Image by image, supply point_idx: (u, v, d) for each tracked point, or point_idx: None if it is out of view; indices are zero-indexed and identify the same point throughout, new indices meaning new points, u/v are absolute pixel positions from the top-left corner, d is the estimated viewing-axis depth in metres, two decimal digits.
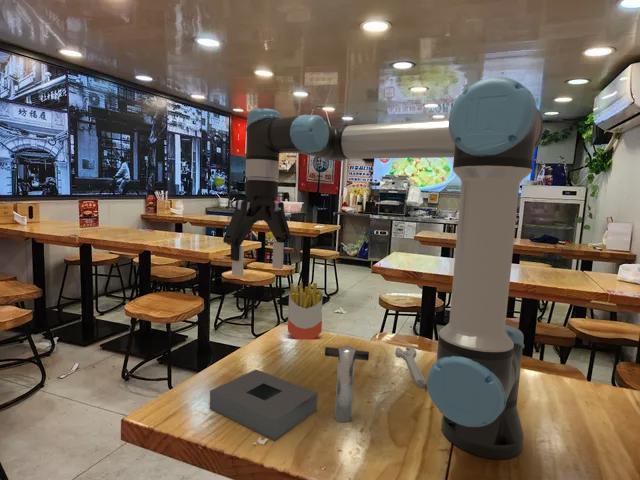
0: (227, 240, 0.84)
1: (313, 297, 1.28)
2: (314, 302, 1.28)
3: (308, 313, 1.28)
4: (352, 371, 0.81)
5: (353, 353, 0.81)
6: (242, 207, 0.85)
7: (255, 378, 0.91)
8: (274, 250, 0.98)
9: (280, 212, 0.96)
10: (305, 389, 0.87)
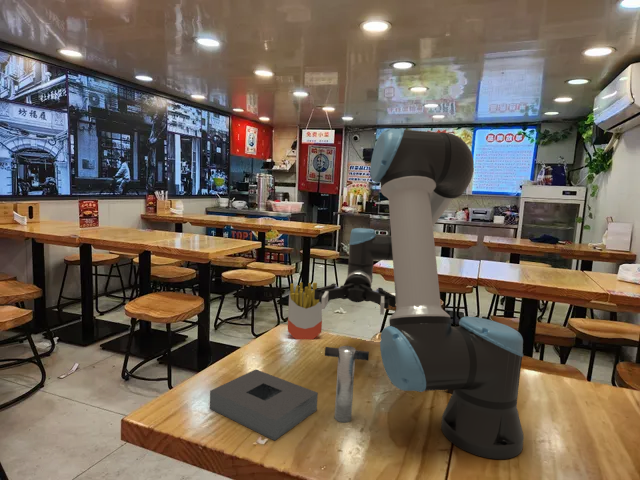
0: None
1: (313, 297, 1.28)
2: (314, 302, 1.28)
3: (308, 313, 1.28)
4: (352, 371, 0.81)
5: (353, 353, 0.81)
6: None
7: (255, 378, 0.91)
8: (380, 307, 0.95)
9: (379, 290, 1.04)
10: (305, 389, 0.87)
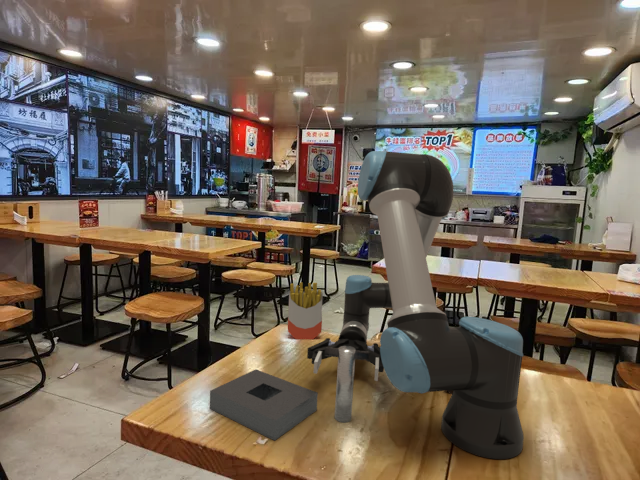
0: None
1: (313, 297, 1.28)
2: (314, 302, 1.28)
3: (308, 313, 1.28)
4: (352, 371, 0.81)
5: (353, 353, 0.81)
6: None
7: (255, 378, 0.91)
8: None
9: (374, 347, 1.01)
10: (305, 389, 0.87)
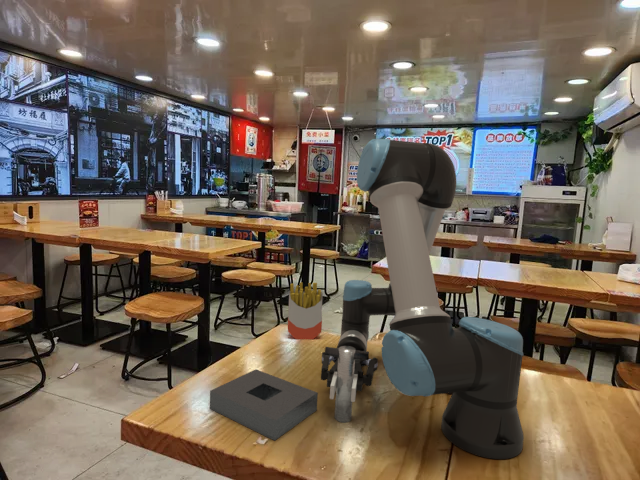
0: (321, 373, 0.86)
1: (313, 297, 1.28)
2: (314, 302, 1.28)
3: (308, 313, 1.28)
4: (352, 371, 0.81)
5: (353, 353, 0.81)
6: (323, 355, 0.93)
7: (255, 378, 0.91)
8: None
9: None
10: (305, 389, 0.87)
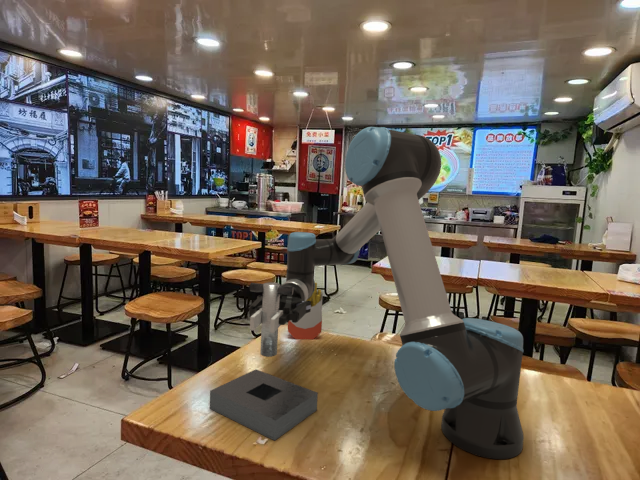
0: (249, 311, 0.87)
1: (313, 297, 1.28)
2: (314, 302, 1.28)
3: (308, 313, 1.28)
4: (276, 306, 0.82)
5: (276, 287, 0.82)
6: (257, 298, 0.94)
7: (255, 378, 0.91)
8: None
9: None
10: (305, 389, 0.87)
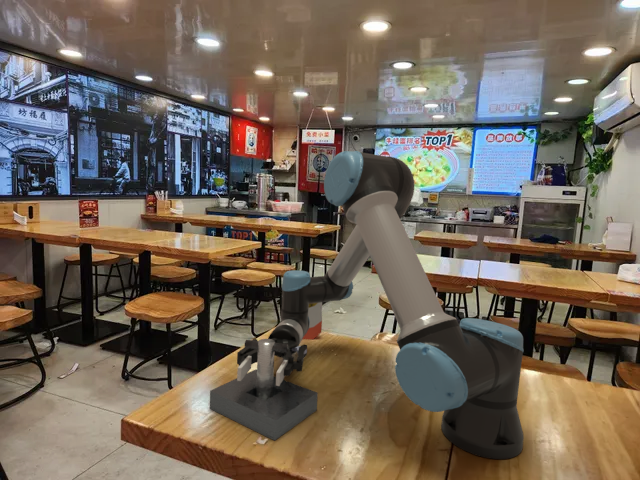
0: (237, 357, 0.88)
1: None
2: None
3: (308, 313, 1.28)
4: (271, 363, 0.83)
5: (271, 345, 0.83)
6: None
7: (255, 378, 0.91)
8: None
9: None
10: (305, 389, 0.87)
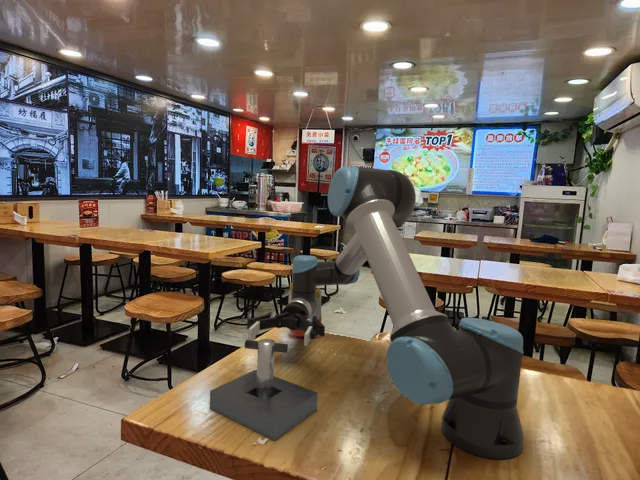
0: None
1: None
2: None
3: None
4: (271, 363, 0.83)
5: (271, 345, 0.83)
6: None
7: (255, 378, 0.91)
8: None
9: (312, 319, 1.07)
10: (305, 389, 0.87)
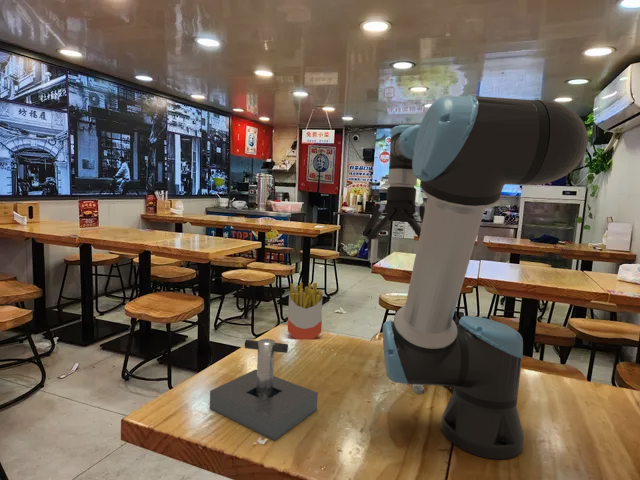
0: None
1: (313, 297, 1.28)
2: (314, 302, 1.28)
3: (308, 313, 1.28)
4: (271, 363, 0.83)
5: (271, 345, 0.83)
6: None
7: (255, 378, 0.91)
8: None
9: (420, 215, 1.02)
10: (305, 389, 0.87)
